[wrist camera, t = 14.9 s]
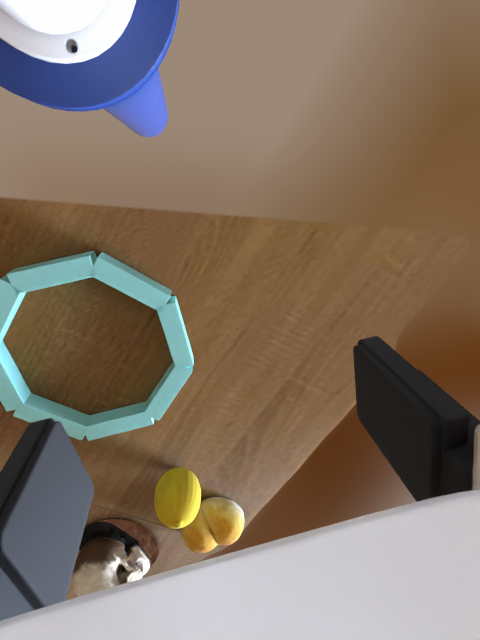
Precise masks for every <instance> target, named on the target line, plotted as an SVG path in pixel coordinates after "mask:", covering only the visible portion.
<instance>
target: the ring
mask: <svg viewBox="0 0 480 640" xmlns="http://www.w3.org/2000/svg"><path fill="white" fill-rule="evenodd" d="M90 277H94V278H96V279H98V280H100V281H102V282H104V283H105V284H107V285H109V286H111V287H113V288H115V289H117V290H119V291H121V292H123V293H125V294H126V295H128V296H130V297H132V298H134V299H136V300H138V301H140V302H142V303H144V304H146V305H147V306H149V307H151V308H153V309H155V310H157V312H158V315H159V318H160V322H161V325H162V328H163V331H164V334H165V337H166V340H167V344H168V347H169V350H170V353H171V356H172V359H173V361H172V363H171V364H170V366H169V367H168V369H167V370H166V372H165V373H164V375H163V377H162V378H161V380H160V381H159V383H158V384H157V386H156V387H155V389H154V390H153V392H152V393H151V395H150V396H149V398H148V399H147V401H145V402H141V403H137V404H133V405H129V406H125V407H121V408H117V409H113V410H109V411H105V412H101V413H97V414H93V415H87V414H84V413H82V412H79V411H77V410H74V409H71V408H69V407H66V406H64V405H61V404H58V403H56V402H53V401H51V400H48V399H45V398H43V397H40V396H37V395H35V394H32V393H31V392H30V390H29V388H28V386H27V385H26V383H25V381H24V379H23V377H22V375H21V373H20V372H19V370H18V368H17V366H16V364H15V362H14V361H13V359H12V357H11V355H10V353H9V351H8V350H7V348H6V346H5V344H4V342H3V338H4V336H5V334H6V332H7V330H8V328H9V326H10V324H11V322H12V320H13V318H14V316H15V314H16V312H17V310H18V308H19V306H20V304H21V302H22V300H23V298H24V295H25V293H26V292H29V291H33V290H37V289H42V288H46V287H50V286H55V285H59V284H64V283H68V282H72V281H77V280H81V279H85V278H90ZM192 365H194V360H193V354H192V350H191V347H190V343H189V340H188V336H187V333H186V329H185V326H184V322H183V319H182V315H181V312H180V309H179V305H178V302H177V298H176V296H172V297H171V290H170V289H168V288H166V287H165V286H163V285H161V284H159V283H157V282H156V281H154V280H152V279H150V278H148V277H147V276H145V275H143V274H141V273H139V272H138V271H136V270H134V269H132V268H130V267H129V266H127V265H125V264H123V263H121V262H120V261H118V260H116V259H114V258H112V257H110V256H109V255H107V254H105V253H103V252H102V253H101V254H100V255H99V256H98V257H96V254H95V252H94V251H90V252H86V253H81V254H77V255H72V256H68V257H63V258H59V259H54V260H50V261H45V262H41V263H37V264H32V265H28V266H23V267H19V268H15V269H13V270H12V271H10V272H9V273H7V274H6V275H5V276H4V277H2V278H1V279H0V401H1V403H2V405H3V406H4V408H5V410H6V411H11V410H15V409H16V410H15V412H14V414H13V416H14V417H17V418H19V419H22V420H25V421H28V422H31V423H32V422H36V421H40V420H44V419H48V418H52V419H54V420H55V421H60V422H61V423H62V425H63V427H64V429H65V431H66V433H67V434H68V436H70V437H73V438H76V439H79V440H82V439H83V437H84V436H85V435H86V437H87V439H88V441H90V440H94V439H98V438H102V437H106V436H110V435H113V434H117V433H121V432H125V431H129V430H133V429H137V428H141V427H145V426H148V425H152V424H154V419H156V420H158V421H159V420H160V418H161V417H162V415H163V414H164V412H165V411H166V410H167V408H168V407H169V405H170V404H171V402H172V401H173V399H174V398H175V396H176V395H177V393H178V392H179V391H180V389H181V388H182V386H183V385H184V383H185V382H186V380H187V379H188V377H189V376H190V374H191V373H192V372H193V367H192Z"/></svg>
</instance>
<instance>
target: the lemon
mask: <svg viewBox="0 0 480 640" xmlns="http://www.w3.org/2000/svg"><path fill="white" fill-rule="evenodd" d="M200 502H201V489H200V485H199V481H198V479H197V477H196V476H195V475H194V473H192V472H191V471H190V470H188V469H186V468H181V467H177V468H173V469H170V470H168V471H167V472H166V473H164V474H163V476H162V477H161V478H160V480H159V481H158V483H157V486H156V489H155V495H154V504H155V509H156V514H157V516H158V518H159V520H160V521H161V522H162V523H163V524H164V525H165V526H167V527H169V528H173V529H179V528H183V527H185V526H187V525H188V524H190V523H191V522H192V521H193V520H194V518H195V517H196V515H197V513H198V510H199V507H200Z"/></svg>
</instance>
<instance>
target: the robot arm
mask: <svg viewBox="0 0 480 640" xmlns="http://www.w3.org/2000/svg"><path fill="white" fill-rule="evenodd" d="M135 3H136V0H0V38H1V39H2V40H4V41H5V42H7V43H8V44H10V45H11V46H13V47H14V48H16V49H18V50H20V51H21V52H23V53H25V54H27V55H29V56H31V57H34V58H37V59H41V60H44V61H47V62H52V63H63V64H70V63H77V62H84V61H86V60H89V59H91V58H94V57H97V56H98V55H100V54H101V53H103V52H104V51H106V50H107V49H109V48H110V47H111V46H112V45H113V44H114V43H115V42H116V40H117V39H118V38H119V37H120V36H121V35H122V33H123V31H124V30H125V28H126V26H127V24H128V22H129V21H130V18H131V15H132V12H133V9H134V6H135ZM73 46H76V47H77V49H78V50H77V52H76V53H73V52H72V47H73ZM353 354H354V369H355V385H356V401H357V413H358V417H359V420H360V421H361V423H362V425H363V426H364V427H365V429H366V430H367V432H368V433H369V435H370V436H371V438H372V439H373V440H374V442H375V443H376V444H377V446H378V447H379V449H380V450H381V452H382V453H383V455H384V456H385V457H386V459H387V460H388V462H389V463H390V464H391V466H392V467H393V469H394V470H395V471H396V473H397V474H398V476H399V477H400V478H401V480H402V481H403V483H404V484H405V486H406V487H407V489H408V490H409V491H410V493H411V494H412V495H413V497H414V498H415V500H416V501H417V502H414V503H410V504H407V505H403V506H399V507H395V508H391V509H388V510H383V511H380V512H376V513H372V514H368V515H365V516H361V517H357V518H354V519H350V520H347V521H343V522H339V523H336V524H332V525H329V526H325V527H322V528H318V529H314V530H311V531H307V532H303V533H300V534H297V535H293V536H289V537H285V538H282V539H278V540H275V541H271V542H268V543H265V544H261V545H257V546H254V547H250V548H247V549H243V550H240V551H236V552H232V553H229V554H225V555H222V556H218V557H215V558H212V559H208V560H204V561H201V562H197V563H194V564H190V565H187V566H183V567H180V568H176V569H173V570H169V571H166V572H162V573H159V574H155V575H152V576H149V577H145V578H142V579H138V580H135V581H131V582H128V583H124V584H121V585H118V586H114V587H111V588H107V589H104V590H100V591H97V592H93V593H90V594H87V595H83V596H80V597H76V598H73V599H69V600H66V596H67V592H68V588H69V585H70V581H71V577H72V573H73V570H74V566H75V562H76V558H77V554H78V551H79V547H80V543H81V539H82V536H83V532H84V528H85V524H86V521H87V517H88V513H89V509H90V505H91V502H92V498H93V494H94V487H93V483H92V480H91V478H90V477H89V475H88V473H87V471H86V469H85V467H84V465H83V463H82V461H81V459H80V457H79V456H78V454H77V452H76V450H75V448H74V446H73V444H72V442H71V440H70V438H69V436H68V434H67V433H66V431H65V429H64V427H63V425H62V423H61V422H60V421H55V420H54V419H52V418H48V419H44V420H40V421H36V422H32V423H30V424H29V425H28V427H27V428H26V430H25V432H24V433H23V435H22V437H21V438H20V440H19V442H18V444H17V445H16V447H15V449H14V450H13V452H12V454H11V455H10V457H9V459H8V461H7V462H6V464H5V466H4V467H3V469H2V471H1V472H0V640H480V421H479V420H478V419H477V418H476V417H474V416H473V415H472V414H471V413H470V412H468V411H467V410H466V409H464V407H463V406H461V405H460V404H459V403H458V402H457V401H456V400H454V399H453V398H452V397H451V396H450V395H448V394H447V393H446V392H445V391H444V390H442V389H441V388H440V387H439V386H438V385H437V384H435V383H434V382H433V381H432V380H431V379H430V378H428V377H427V376H426V375H425V374H424V373H423V372H421V371H420V370H418V369H416V368H414V367H413V366H412V365H411V364H410V363H409V362H407V361H406V360H405V359H404V358H403V357H402V356H400V355H399V354H398V353H397V352H396V351H395V350H393V349H392V348H391V347H390V346H389V345H388V344H386V343H385V342H384V341H383V340H382V339H381V338H379V337H378V336H374V337H370V338H366V339H362V340H359V341H358V345H357V346H354V348H353ZM65 600H66V601H65Z"/></svg>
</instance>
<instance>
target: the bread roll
mask: <svg viewBox="0 0 480 640" xmlns="http://www.w3.org/2000/svg"><path fill="white" fill-rule="evenodd" d="M243 526H244V515H243V511H242V509H241V508H240V507H239V505H237V504H236V503H235V502H234V501H231V500H229V499H226V498H223V497H211V498H207V499H205V500H203V501H202V502H200V507H199V510H198V513H197V515H196V517H195V518H194V520H193V521H192V522H191V523H190V524H188V525H187V526H185V527H183V528H180V530H181V537H182V539H183V542H184V544H185V546H187V547H188V548H189V549H190V550H192V551H195V552H200V553H205V552H209V551H211V550H212V549H213V548H214V547H215V546H217V545H218V544H220V545H229V544H232V543H234V542H235V541H236V540H237V539H238V538H239V537H240V535H241V533H242V530H243Z"/></svg>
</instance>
